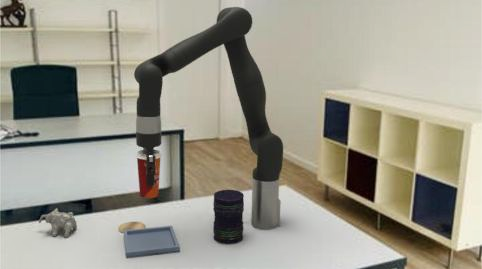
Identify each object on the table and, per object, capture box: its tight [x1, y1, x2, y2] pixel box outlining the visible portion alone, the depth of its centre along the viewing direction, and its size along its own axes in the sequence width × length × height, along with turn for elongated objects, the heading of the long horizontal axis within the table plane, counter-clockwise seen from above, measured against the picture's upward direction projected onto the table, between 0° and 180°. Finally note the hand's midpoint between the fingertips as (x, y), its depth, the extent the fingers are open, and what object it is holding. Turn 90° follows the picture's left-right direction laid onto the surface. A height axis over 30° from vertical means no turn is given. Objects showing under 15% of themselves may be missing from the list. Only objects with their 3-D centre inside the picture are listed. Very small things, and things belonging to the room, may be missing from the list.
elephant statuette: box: [38, 207, 78, 238], centre depth 158 cm, size 9×12×8 cm
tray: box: [123, 225, 181, 259], centre depth 152 cm, size 16×16×2 cm
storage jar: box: [212, 189, 245, 245], centre depth 156 cm, size 10×10×15 cm
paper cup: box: [135, 149, 162, 199], centre depth 147 cm, size 8×8×14 cm
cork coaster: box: [117, 221, 146, 234], centre depth 163 cm, size 9×9×1 cm
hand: (149, 182), depth 148 cm, fingers closed on paper cup, 6 cm apart
